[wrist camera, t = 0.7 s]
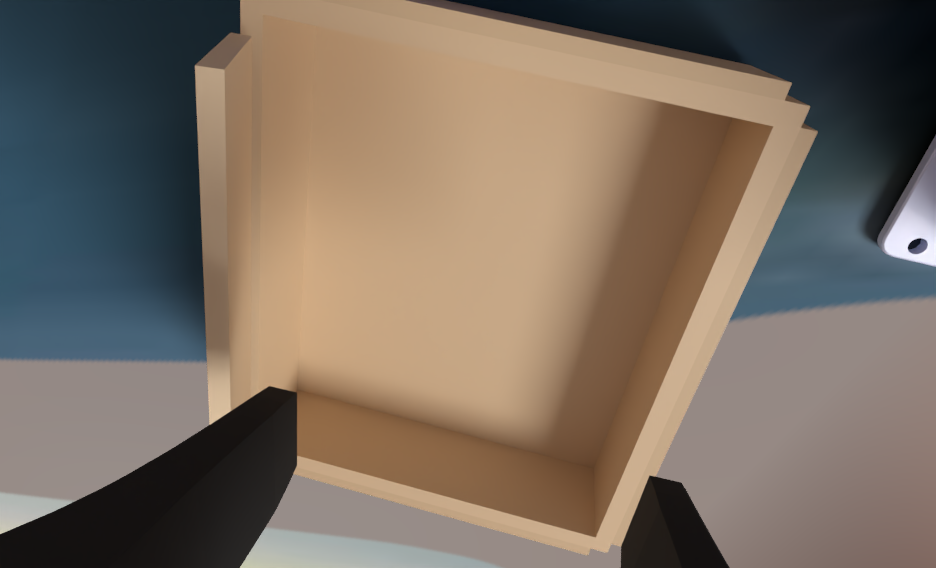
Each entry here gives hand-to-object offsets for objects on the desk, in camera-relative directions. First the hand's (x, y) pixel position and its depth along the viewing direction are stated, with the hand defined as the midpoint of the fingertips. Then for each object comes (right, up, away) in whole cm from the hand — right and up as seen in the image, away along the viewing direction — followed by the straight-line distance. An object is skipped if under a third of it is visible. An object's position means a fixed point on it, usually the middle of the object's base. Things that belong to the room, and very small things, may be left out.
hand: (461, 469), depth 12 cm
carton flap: (-6, +3, +4) cm, 8 cm away
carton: (+1, +4, +9) cm, 10 cm away
